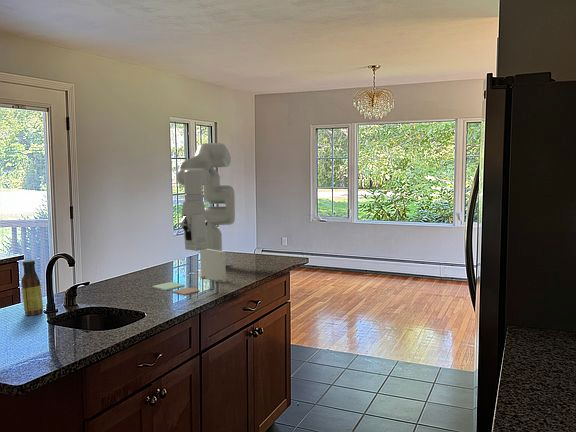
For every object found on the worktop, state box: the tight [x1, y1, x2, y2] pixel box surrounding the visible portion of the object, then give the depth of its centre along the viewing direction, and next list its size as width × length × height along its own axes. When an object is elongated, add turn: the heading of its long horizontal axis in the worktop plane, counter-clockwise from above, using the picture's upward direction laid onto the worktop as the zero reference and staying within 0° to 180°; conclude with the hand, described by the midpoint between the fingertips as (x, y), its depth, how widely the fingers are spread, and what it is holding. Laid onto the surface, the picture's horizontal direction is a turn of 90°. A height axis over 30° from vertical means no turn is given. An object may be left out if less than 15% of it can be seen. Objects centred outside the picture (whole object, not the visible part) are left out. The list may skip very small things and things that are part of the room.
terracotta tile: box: [172, 287, 200, 296], centre depth 223 cm, size 8×8×1 cm
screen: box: [199, 249, 228, 283], centre depth 245 cm, size 4×16×14 cm, turn 48°
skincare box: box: [183, 214, 207, 252], centre depth 231 cm, size 8×7×16 cm
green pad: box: [151, 281, 185, 292], centre depth 234 cm, size 10×10×1 cm
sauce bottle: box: [21, 259, 44, 316], centre depth 195 cm, size 6×6×20 cm
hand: (195, 238), depth 231 cm, fingers closed on skincare box, 6 cm apart
